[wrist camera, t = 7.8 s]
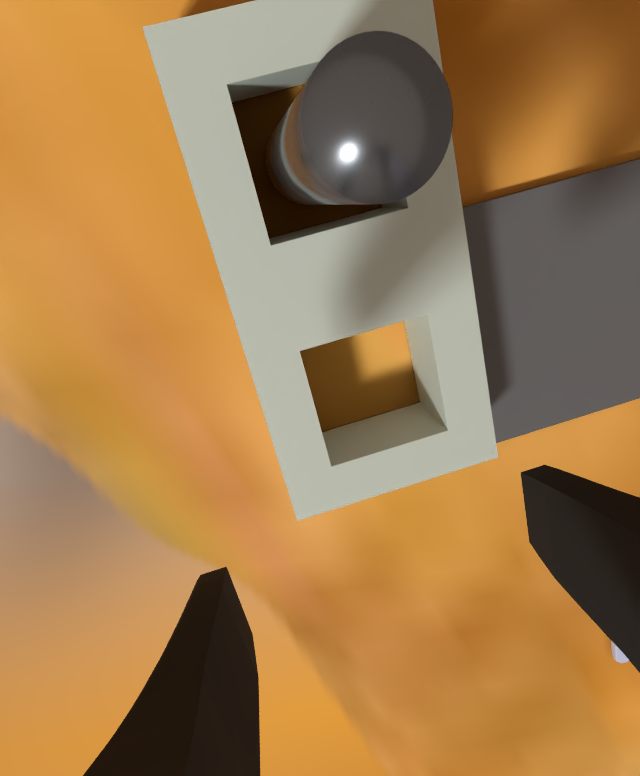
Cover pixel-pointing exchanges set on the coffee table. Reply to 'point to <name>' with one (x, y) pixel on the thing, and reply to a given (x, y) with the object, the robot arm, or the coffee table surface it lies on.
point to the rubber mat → (558, 297)
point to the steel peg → (363, 125)
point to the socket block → (329, 256)
